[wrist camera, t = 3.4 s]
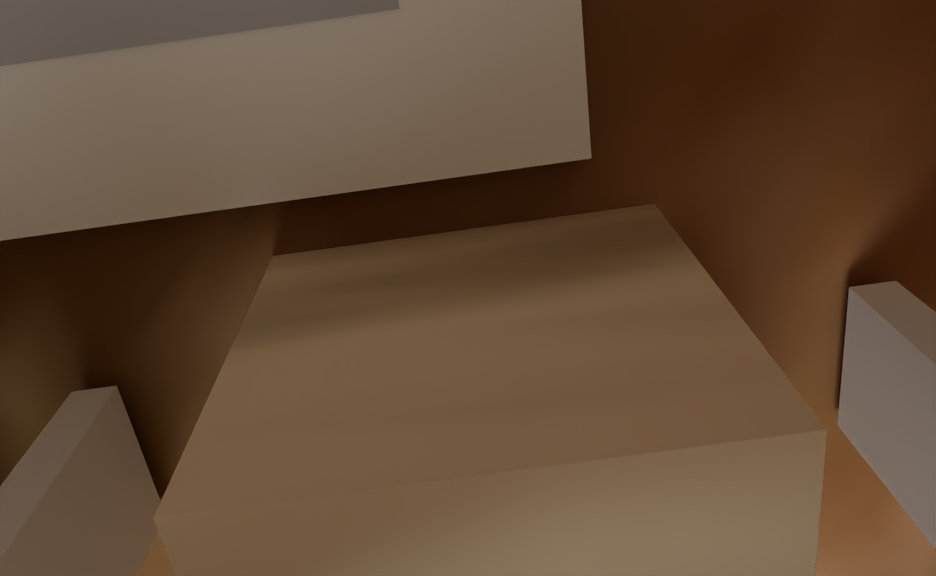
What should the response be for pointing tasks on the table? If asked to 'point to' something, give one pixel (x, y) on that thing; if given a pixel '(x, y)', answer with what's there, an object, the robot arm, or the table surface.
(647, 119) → the table surface
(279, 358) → the maple cube
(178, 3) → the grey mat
